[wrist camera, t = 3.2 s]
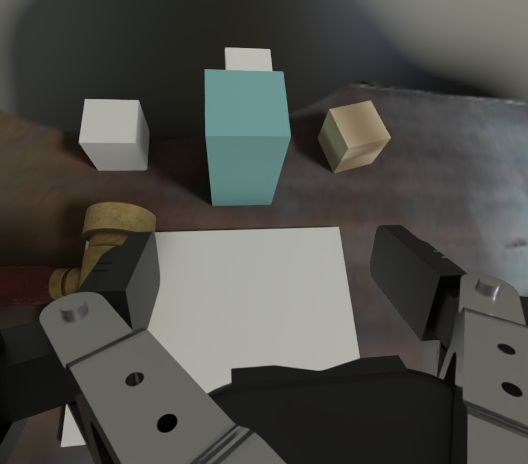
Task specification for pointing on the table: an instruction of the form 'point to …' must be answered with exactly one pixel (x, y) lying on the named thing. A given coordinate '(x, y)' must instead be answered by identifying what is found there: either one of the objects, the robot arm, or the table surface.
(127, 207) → the gavel
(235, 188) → the teal block
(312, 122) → the table surface
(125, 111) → the grey cube left
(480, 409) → the robot arm
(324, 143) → the birch cube right
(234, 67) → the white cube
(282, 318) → the white mat
